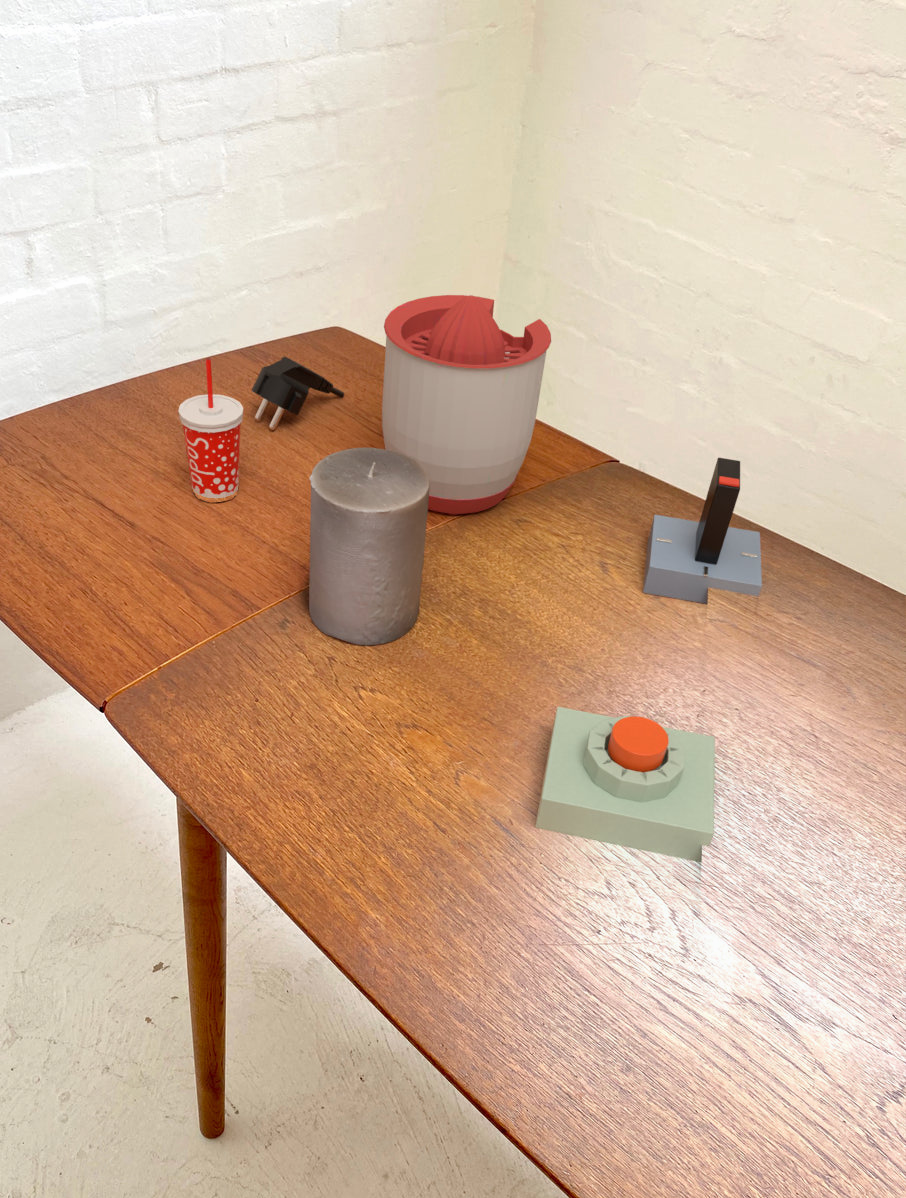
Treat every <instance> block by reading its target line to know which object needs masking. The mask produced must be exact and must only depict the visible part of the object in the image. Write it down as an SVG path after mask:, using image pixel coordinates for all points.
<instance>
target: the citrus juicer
mask: <svg viewBox="0 0 906 1198" xmlns="http://www.w3.org/2000/svg"><path fill="white" fill-rule="evenodd" d="M494 307H495V299H493V298H487V297H483V296H476V295H473V294H472V295H471V294H470V295H467V294H462V295H461V294H445V295H444V294H443V295H442V294H441V295H432V296H425V297H419V298H416V299H413V300H409V301H405V302H404V303H402V304H400V305H398V306H396V307H395V308H394V309H392V310H391V311H390V312H389V313H388V314H387V316H386V317H385V319H384V323H383V329H384V334H385V351H384V352H385V354H384V367H383V368H384V369H383V370H384V371H383V384H382V385H383V387H382V405H381V427H382V428H381V429H382V436H383V443H384V448H385V449H386V450H390V451H393V452H397V453H400V454H403V455H405V456H407V457H410V458H411V459H413V460H415V461H416V462H417V463H419V464H420V465H421V466H422V467H424V469H425V471H426V472H427V474H428V477H429V481H430V489H429V501H428V511H433V512H439V513H445V514H448V515H451V516H456V515H460V514H473V513H478V512H482V511H486V510H488V509H490V508H493V507H495V506H496V505H498V504H499V503H501V502H502V500H503V499H504V498H505V497H506V496H507V494H508V492H509V491H510V490H511V488H512V487H513V485H514V484H515V482H516V480H517V477H518V474H519V472H520V469H521V467H522V466H523V463H524V460H525V458H526V456H527V453H528V450H529V447H530V445H531V442H532V437H533V433H534V429H535V425H536V420H537V415H538V414H537V413H538V408H539V401H540V394H541V387H542V384H543V383H542V382H543V375H544V371H545V363H546V357H547V352H548V351H547V350H548V349H549V348H550V347H551V344H552V334H551V330H550V329H549V327H548V325H547V324H546V322H544V321H543V320H542V319H541V318H538V319H537V320H535V321H533V322H531V323H529V324H527V325H526V326H524V329H523V336H513V335H512V334H511V333H509V332H507V331H505V330H503V329H501V328H500V327H499V325H498V324H497V321H496V320H495V319H494Z"/></svg>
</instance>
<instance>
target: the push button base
mask: <svg viewBox="0 0 906 1198" xmlns="http://www.w3.org/2000/svg"><path fill="white" fill-rule="evenodd" d="M631 716H632V715H622V716H609V715H604V714H598V713H595V712H588V711H582V710H578V709H572V708H567V707H563V706H557V707H556V710H555V715H554V720H553V723H552V724H553V725H552V729H551V734H550V738H549V739H550V740H549V745H548V750H547V757H546V762H545V768H544V774H543V778H542V785H541V791H540V797H539V803H538V808H537V814H536V819H535V826H534V828H535V829H538V830H544V831H549V832H552V833H553V832H554V833H558V834H563V835H567V836H573V837H578V838H581V839H582V838H583V839H587V840H591V841H596V842H602V843H606V844H611V845H615V846H619V847H620V846H621V847H626V848H630V849H633V850H640V851H644V852H649V853H654V854H659V855H663V856H668V857H673V858H678V859H683V860H687V861H693V862H697V863H702V862H703V846H704V847H710V845H711V843H712V840H713V837H714V834H715V783H716V782H715V779H716V778H715V777H716V776H715V774H716V771H715V770H716V737H715V736H711V735H707V734H702V733H697V732H691V731H686V730H683V729H676V728H672V727H671V728H670V727H665V726H663V725H661V724H659V725H660V726H661V727H662V728H663V729H664V730H665V731H666V733H667V735H668V739H669V742H668V746H667V749H666V753H665V756H664V759H663V762H662V764H661V765H660V766H659V767H658V768H656V769H655V770H652V771H649V772H638V771H633V770H628V769H625V768H623V767H621V766H620V765H618V764H617V763H615V762H614V761H613V760H612V758H611V757H610V755H609V752H608V744H609V740H610V736H611V732H612V729H613V726H614V725H615V723H616V722H617V721H619V720H620V719H623V718H626V717H631Z"/></svg>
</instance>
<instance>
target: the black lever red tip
mask: <svg viewBox="0 0 906 1198" xmlns="http://www.w3.org/2000/svg"><path fill="white" fill-rule="evenodd" d="M712 473H713V474H712V477H711V481H710V484H709V487H708V489H707V490H708V491H707V495H706V497H705V501H704V505H703V508H702V512H701V514H700V518H699V521H698V522H699V525H698V528H697V532H696V549H695V561H699V562H705V563H710V564H717V562H718V559H719V556H720V553H721V549H722V546H723V543H724V540H725V536H726V533H727V530H728V527H730V523H731V521H732V517H733V513H734V511H735V507H736V504H737V501H738V498H739V496H740V495H739V494H740V491H741V460H736V459H731V458H724V457H717V459H716V463H715V467H714V470H713V472H712Z"/></svg>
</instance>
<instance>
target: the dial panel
mask: <svg viewBox="0 0 906 1198" xmlns="http://www.w3.org/2000/svg"><path fill="white" fill-rule="evenodd" d="M698 525H699V521H696V520H690V519H684V518H678V517H671V516H666V515H662V514H661V515H660V514H653V518H652V522H651V526H650V531H649V534H648V538H647V545H646V554H645V555H646V556H645V564H644V565H645V566H644V576H643V585H642V586H643V587H642V593H643V594H648V595H654V596H658V597H665V598H669V599H675V600H676V599H677V600H682V601H687V602H694V603H698V604H705V605H708V603H709V601H708V600H709V588H710V589H715V590H721V591H727V592H732V593H737V594H738V593H739V594H743V595H750V596H753V597H754V596H755V597H759V596H760V593H761V590H762V588H763V578H762V577H763V576H762V550H761V532H760V531H756V530H749V529H743V528H739V527H731V526H729V527H728V530H727V533H726V536H725V540H724V543H723V546H722V549H721V553H720V556H719V559H718V562H717V564H710V563H705V562H699V561H695V549H696V532H697V528H698Z"/></svg>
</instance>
